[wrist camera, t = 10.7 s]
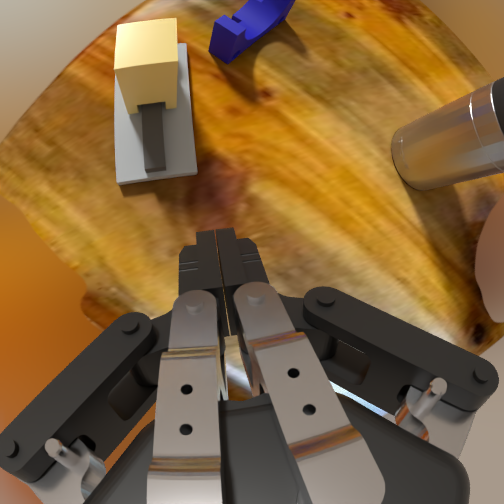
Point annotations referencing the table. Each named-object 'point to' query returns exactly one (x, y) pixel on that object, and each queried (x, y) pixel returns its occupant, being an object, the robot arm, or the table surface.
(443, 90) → the table surface
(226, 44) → the blue stepped block
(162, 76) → the pale yellow block
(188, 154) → the comb board
